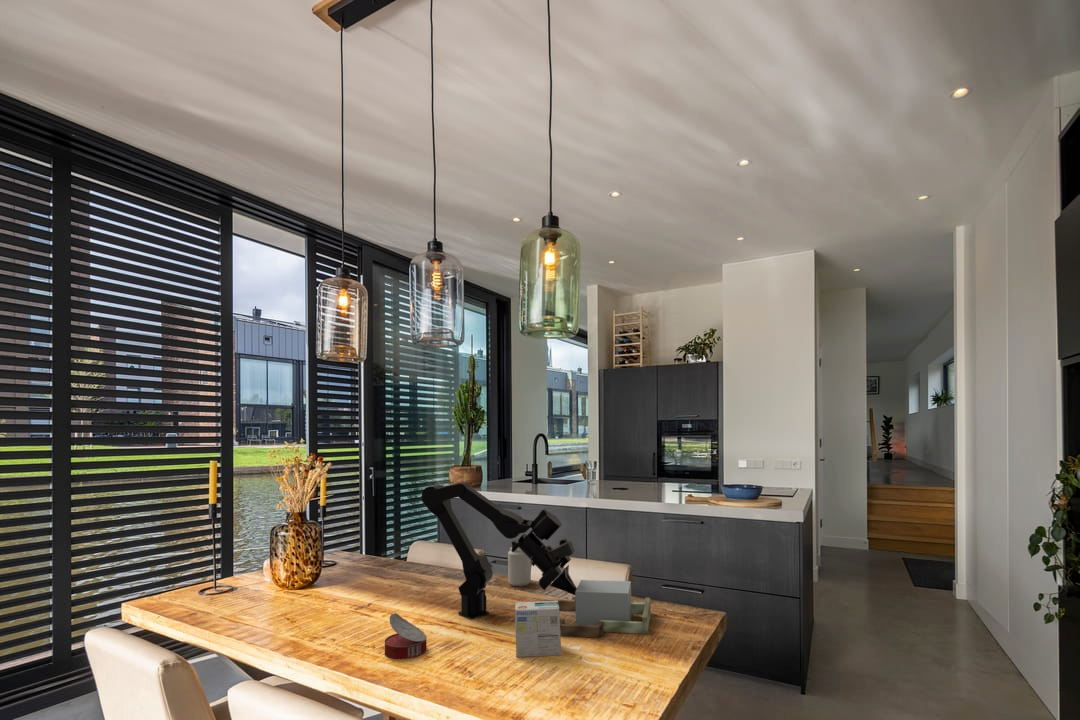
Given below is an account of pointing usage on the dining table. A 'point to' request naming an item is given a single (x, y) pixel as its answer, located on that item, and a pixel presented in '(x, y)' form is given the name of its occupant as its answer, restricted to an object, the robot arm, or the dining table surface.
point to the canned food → (404, 640)
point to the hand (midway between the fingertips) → (577, 593)
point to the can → (518, 568)
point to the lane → (604, 621)
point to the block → (603, 601)
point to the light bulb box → (537, 629)
